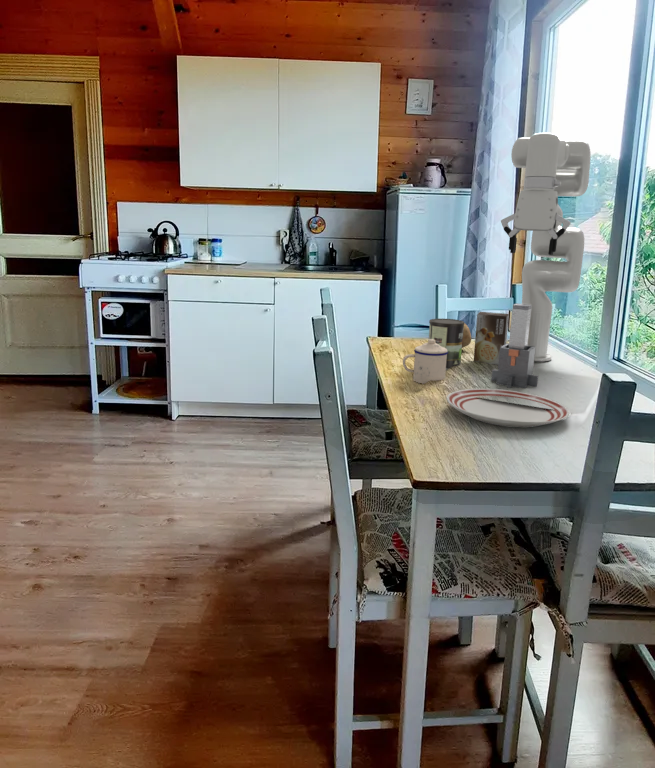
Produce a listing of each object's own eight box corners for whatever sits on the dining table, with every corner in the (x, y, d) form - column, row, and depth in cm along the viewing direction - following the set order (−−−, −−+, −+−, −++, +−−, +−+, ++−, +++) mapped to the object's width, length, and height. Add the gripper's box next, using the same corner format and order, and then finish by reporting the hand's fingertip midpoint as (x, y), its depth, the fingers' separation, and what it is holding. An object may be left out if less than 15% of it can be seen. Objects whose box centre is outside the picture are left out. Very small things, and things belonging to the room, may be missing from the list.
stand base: (496, 380, 180) (500, 341, 178) (540, 386, 175) (545, 346, 172) (485, 389, 170) (489, 348, 167) (531, 396, 165) (536, 353, 162)
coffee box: (505, 364, 200) (510, 313, 196) (502, 368, 194) (507, 316, 190) (475, 361, 203) (480, 311, 199) (472, 365, 198) (476, 313, 194)
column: (508, 380, 175) (516, 303, 170) (523, 382, 173) (532, 304, 168) (504, 383, 171) (512, 305, 166) (519, 385, 169) (528, 306, 164)
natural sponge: (441, 346, 226) (444, 318, 224) (467, 347, 226) (469, 319, 223) (444, 351, 217) (447, 322, 215) (471, 352, 217) (474, 323, 214)
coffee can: (460, 364, 198) (464, 319, 195) (460, 372, 189) (464, 324, 185) (427, 362, 200) (430, 317, 197) (425, 369, 191) (428, 322, 187)
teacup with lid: (443, 378, 181) (447, 337, 178) (447, 386, 172) (450, 343, 169) (401, 376, 182) (403, 335, 179) (402, 384, 173) (404, 341, 170)
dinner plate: (509, 395, 166) (510, 382, 166) (595, 426, 143) (597, 412, 142) (422, 406, 154) (423, 392, 153) (500, 442, 131) (501, 426, 130)
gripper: (577, 186, 163) (568, 255, 167) (508, 186, 170) (501, 252, 174) (572, 184, 156) (564, 255, 160) (501, 184, 164) (494, 252, 168)
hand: (531, 253), depth 167 cm, fingers open, 9 cm apart
